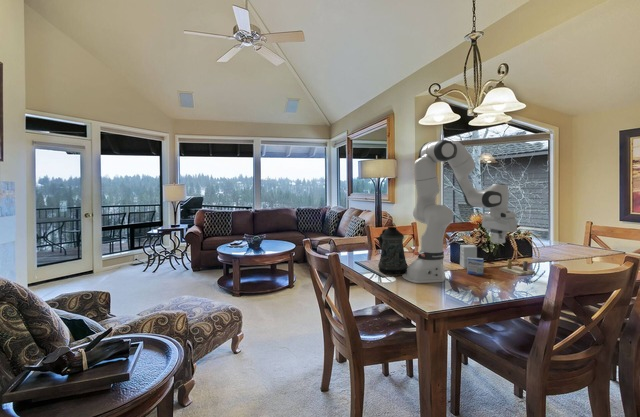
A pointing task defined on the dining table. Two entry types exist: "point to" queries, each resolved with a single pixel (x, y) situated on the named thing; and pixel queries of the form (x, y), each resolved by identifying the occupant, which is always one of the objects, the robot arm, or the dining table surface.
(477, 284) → the dining table surface
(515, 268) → the pinboard
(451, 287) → the dining table surface
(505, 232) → the robot arm
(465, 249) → the supplement box
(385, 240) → the black tall carved piece
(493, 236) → the sleeve
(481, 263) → the medicine box
